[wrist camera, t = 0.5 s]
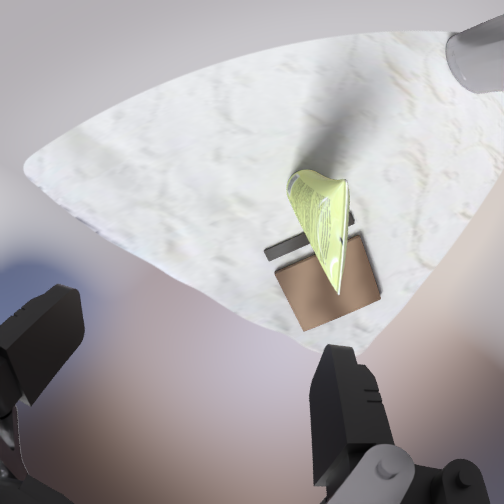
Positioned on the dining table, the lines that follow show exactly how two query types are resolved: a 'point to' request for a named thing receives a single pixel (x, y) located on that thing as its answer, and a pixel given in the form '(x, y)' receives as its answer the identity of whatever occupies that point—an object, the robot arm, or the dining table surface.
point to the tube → (323, 218)
